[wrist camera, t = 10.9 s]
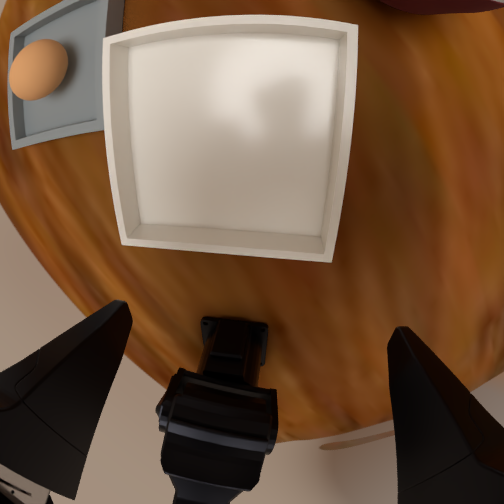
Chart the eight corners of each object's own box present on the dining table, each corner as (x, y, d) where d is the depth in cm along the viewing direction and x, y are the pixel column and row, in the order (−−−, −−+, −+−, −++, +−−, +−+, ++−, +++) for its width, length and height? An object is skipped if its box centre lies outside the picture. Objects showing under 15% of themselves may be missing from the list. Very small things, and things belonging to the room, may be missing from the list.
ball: (80, 89, 16) (36, 95, 11) (39, 102, 16) (-2, 112, 12) (81, 32, 13) (39, 27, 9) (40, 51, 13) (-2, 53, 9)
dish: (326, 240, 21) (331, 262, 18) (138, 226, 22) (121, 244, 20) (347, 35, 13) (357, 25, 10) (125, 42, 14) (103, 38, 12)
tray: (122, 124, 18) (106, 129, 16) (27, 143, 19) (12, 149, 17) (126, -14, 11) (111, -21, 10) (26, 32, 12) (10, 33, 11)
